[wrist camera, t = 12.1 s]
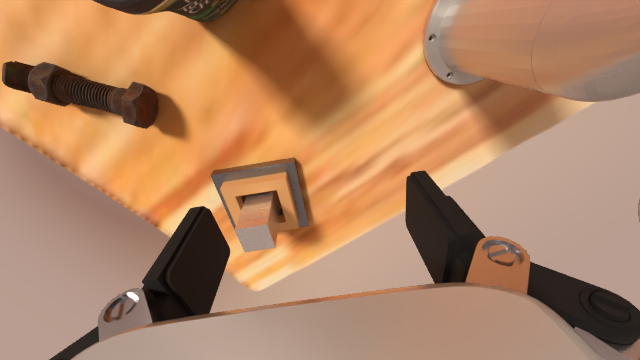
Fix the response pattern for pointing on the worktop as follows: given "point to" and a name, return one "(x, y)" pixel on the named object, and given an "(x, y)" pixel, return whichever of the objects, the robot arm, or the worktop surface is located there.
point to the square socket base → (263, 190)
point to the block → (259, 221)
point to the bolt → (82, 91)
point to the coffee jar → (173, 7)
